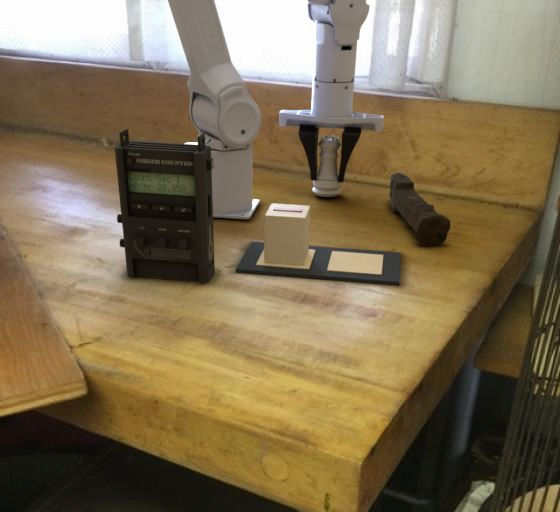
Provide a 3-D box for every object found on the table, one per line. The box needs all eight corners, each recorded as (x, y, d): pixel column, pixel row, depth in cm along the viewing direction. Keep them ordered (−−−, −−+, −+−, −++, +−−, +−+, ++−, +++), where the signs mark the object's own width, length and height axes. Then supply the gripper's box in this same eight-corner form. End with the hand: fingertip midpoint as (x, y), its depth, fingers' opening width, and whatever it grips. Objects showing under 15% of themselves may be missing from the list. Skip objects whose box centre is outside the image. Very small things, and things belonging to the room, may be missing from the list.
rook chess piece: (322, 187, 106) (325, 132, 102) (347, 192, 103) (351, 137, 99) (305, 193, 102) (308, 137, 98) (331, 199, 100) (334, 142, 96)
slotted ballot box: (264, 262, 79) (264, 214, 76) (270, 248, 82) (271, 202, 80) (303, 265, 78) (305, 217, 75) (308, 251, 82) (310, 204, 79)
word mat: (235, 272, 77) (235, 268, 77) (251, 244, 85) (251, 240, 85) (399, 285, 75) (399, 281, 75) (400, 255, 83) (400, 251, 82)
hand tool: (448, 247, 85) (454, 210, 83) (416, 247, 85) (421, 210, 83) (410, 201, 102) (413, 169, 99) (383, 201, 101) (386, 169, 99)
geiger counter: (114, 279, 75) (98, 135, 67) (129, 264, 79) (116, 126, 71) (209, 288, 73) (204, 141, 66) (219, 271, 77) (216, 132, 70)
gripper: (387, 78, 98) (378, 175, 104) (285, 73, 99) (283, 169, 106) (386, 85, 92) (376, 188, 98) (277, 80, 93) (275, 181, 100)
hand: (327, 179), depth 102 cm, fingers closed on rook chess piece, 3 cm apart
